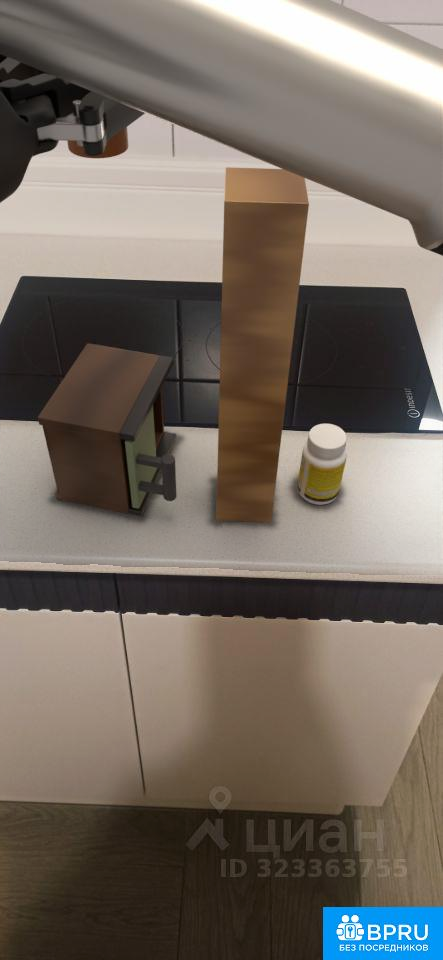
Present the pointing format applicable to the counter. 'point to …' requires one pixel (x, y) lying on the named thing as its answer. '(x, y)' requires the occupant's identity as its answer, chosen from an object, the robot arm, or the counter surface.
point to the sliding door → (149, 466)
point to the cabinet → (104, 424)
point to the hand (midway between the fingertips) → (123, 47)
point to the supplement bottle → (322, 464)
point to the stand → (256, 333)
